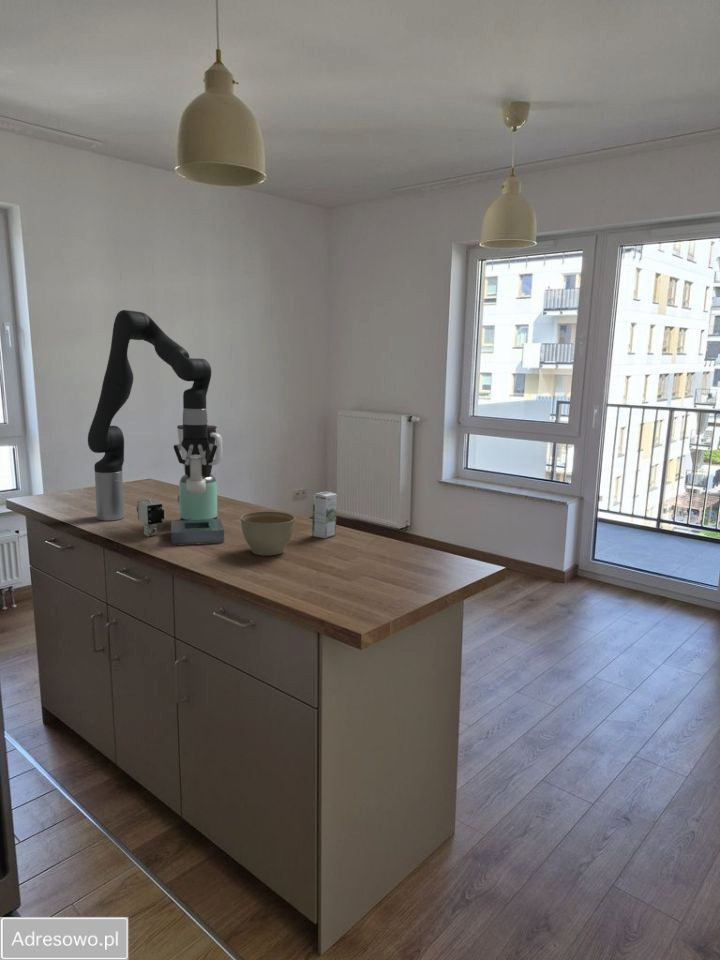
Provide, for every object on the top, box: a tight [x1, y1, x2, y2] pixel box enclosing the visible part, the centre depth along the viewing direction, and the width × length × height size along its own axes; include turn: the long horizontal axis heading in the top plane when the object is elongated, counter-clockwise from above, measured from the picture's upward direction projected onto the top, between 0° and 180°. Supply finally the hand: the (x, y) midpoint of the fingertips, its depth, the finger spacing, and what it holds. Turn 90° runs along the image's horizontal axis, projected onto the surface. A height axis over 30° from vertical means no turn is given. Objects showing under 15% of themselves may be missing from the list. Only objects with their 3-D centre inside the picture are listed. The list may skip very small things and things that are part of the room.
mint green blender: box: [176, 424, 224, 520], centre depth 226 cm, size 19×13×35 cm
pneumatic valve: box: [136, 498, 165, 538], centre depth 209 cm, size 6×12×12 cm, turn 40°
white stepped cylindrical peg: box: [186, 458, 206, 494], centre depth 205 cm, size 6×6×11 cm
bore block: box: [170, 518, 225, 546], centre depth 208 cm, size 16×16×4 cm
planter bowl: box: [240, 510, 296, 556], centre depth 194 cm, size 16×16×11 cm
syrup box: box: [311, 491, 338, 539], centre depth 213 cm, size 6×6×14 cm
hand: (195, 476), depth 205 cm, fingers closed on white stepped cylindrical peg, 4 cm apart
